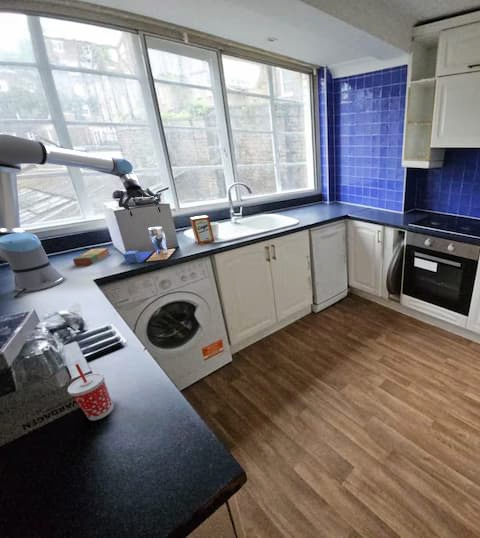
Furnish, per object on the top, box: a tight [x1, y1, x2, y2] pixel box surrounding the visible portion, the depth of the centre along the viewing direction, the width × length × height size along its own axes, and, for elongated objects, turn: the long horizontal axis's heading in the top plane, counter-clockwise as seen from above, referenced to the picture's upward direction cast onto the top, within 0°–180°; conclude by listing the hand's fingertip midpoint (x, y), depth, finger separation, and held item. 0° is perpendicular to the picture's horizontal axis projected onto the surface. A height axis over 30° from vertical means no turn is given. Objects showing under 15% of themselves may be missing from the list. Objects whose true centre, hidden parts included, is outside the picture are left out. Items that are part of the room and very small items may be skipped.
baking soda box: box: [189, 215, 215, 245], centre depth 187 cm, size 10×6×16 cm
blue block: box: [122, 250, 141, 264], centre depth 157 cm, size 5×5×5 cm
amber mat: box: [146, 248, 176, 262], centre depth 166 cm, size 18×10×1 cm, turn 17°
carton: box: [72, 247, 110, 267], centre depth 161 cm, size 8×16×4 cm, turn 12°
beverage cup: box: [67, 363, 114, 421], centre depth 65 cm, size 6×6×14 cm
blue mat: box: [121, 250, 155, 265], centre depth 163 cm, size 18×10×1 cm, turn 17°
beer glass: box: [147, 225, 169, 255], centre depth 165 cm, size 7×7×15 cm
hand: (146, 213), depth 166 cm, fingers open, 13 cm apart
